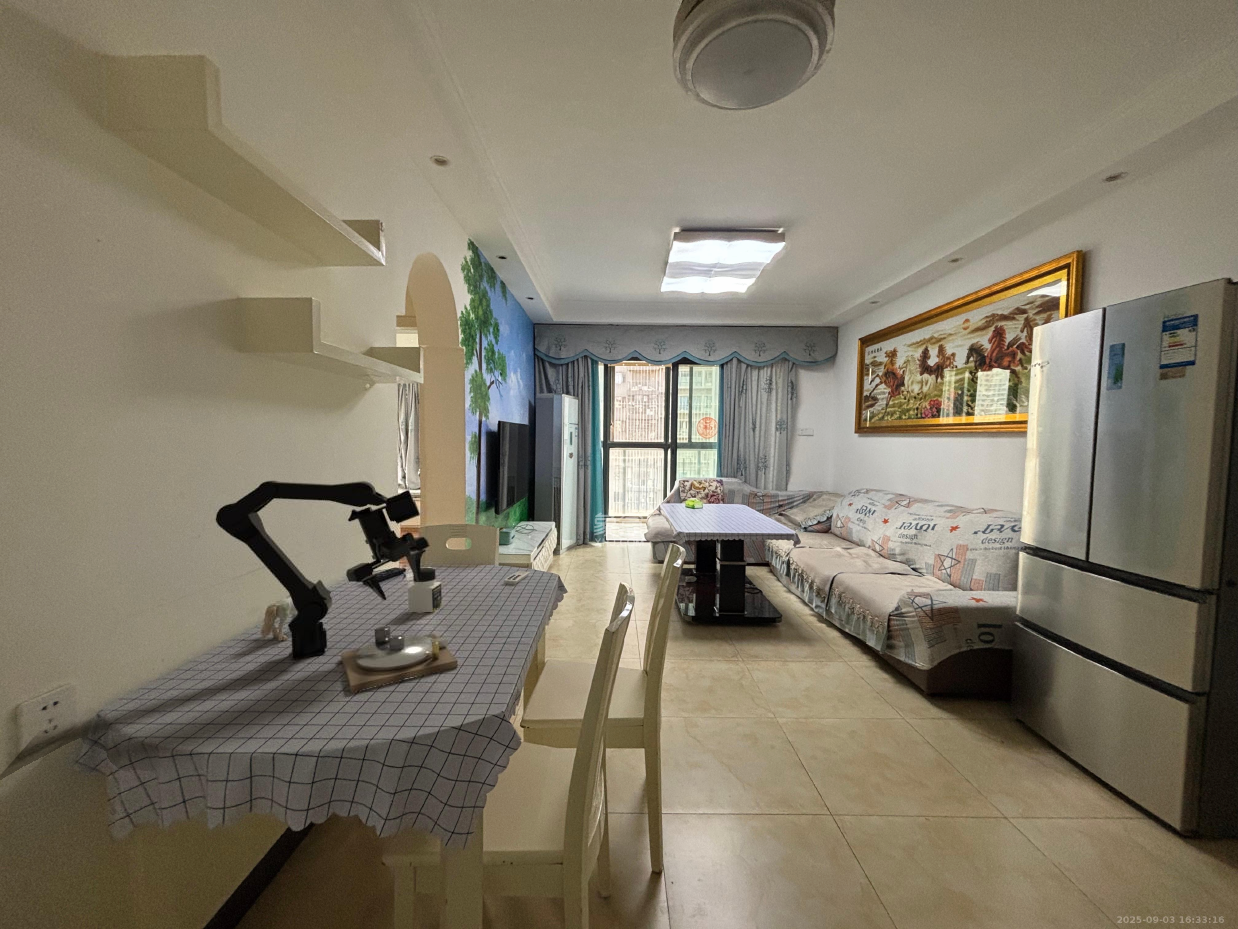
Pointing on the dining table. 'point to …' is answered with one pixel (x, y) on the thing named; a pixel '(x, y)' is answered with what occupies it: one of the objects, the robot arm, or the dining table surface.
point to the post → (397, 642)
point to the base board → (368, 679)
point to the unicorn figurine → (278, 610)
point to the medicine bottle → (425, 592)
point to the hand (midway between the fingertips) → (402, 590)
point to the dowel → (435, 650)
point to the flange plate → (385, 659)
